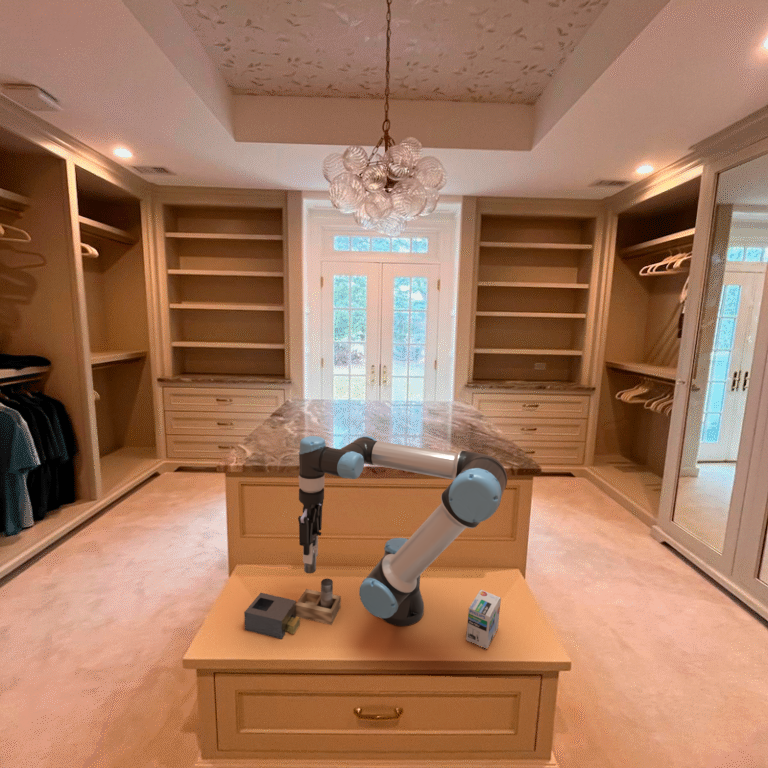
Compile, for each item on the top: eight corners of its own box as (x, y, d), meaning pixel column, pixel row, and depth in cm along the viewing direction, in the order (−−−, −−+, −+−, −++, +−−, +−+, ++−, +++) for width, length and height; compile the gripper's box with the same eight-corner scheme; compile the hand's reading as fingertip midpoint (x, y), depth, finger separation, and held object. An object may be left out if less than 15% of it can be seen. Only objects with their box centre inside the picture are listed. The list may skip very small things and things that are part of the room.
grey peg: (317, 567, 132) (318, 532, 130) (312, 574, 129) (313, 538, 127) (307, 565, 133) (308, 530, 131) (302, 572, 130) (302, 536, 128)
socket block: (295, 617, 130) (295, 600, 129) (281, 639, 121) (281, 620, 120) (260, 609, 133) (260, 592, 132) (244, 630, 124) (244, 611, 123)
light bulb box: (487, 651, 120) (490, 617, 118) (465, 640, 124) (467, 608, 122) (498, 628, 129) (501, 596, 127) (477, 619, 133) (480, 588, 131)
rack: (340, 607, 135) (341, 576, 133) (331, 624, 128) (332, 592, 126) (306, 599, 138) (306, 569, 136) (295, 616, 130) (295, 584, 129)
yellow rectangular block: (299, 624, 127) (299, 617, 126) (293, 634, 123) (293, 626, 123) (266, 616, 130) (266, 609, 129) (259, 625, 126) (259, 618, 125)
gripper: (311, 475, 135) (310, 542, 139) (287, 497, 119) (286, 572, 123) (333, 479, 133) (331, 546, 138) (311, 501, 118) (310, 577, 122)
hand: (310, 558), depth 130 cm, fingers closed on grey peg, 4 cm apart
